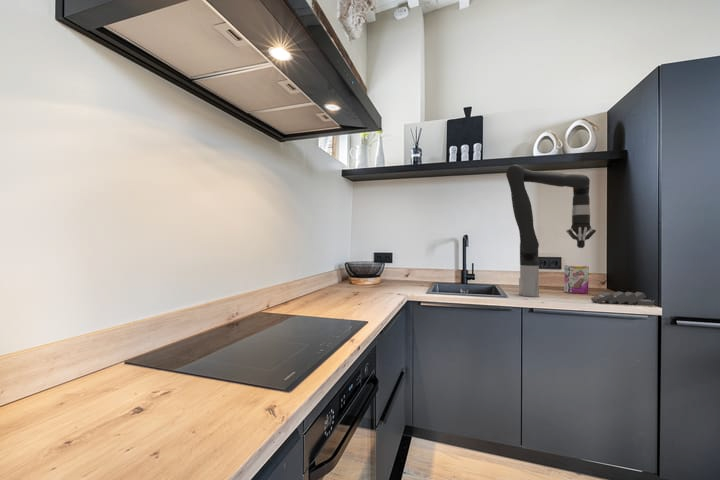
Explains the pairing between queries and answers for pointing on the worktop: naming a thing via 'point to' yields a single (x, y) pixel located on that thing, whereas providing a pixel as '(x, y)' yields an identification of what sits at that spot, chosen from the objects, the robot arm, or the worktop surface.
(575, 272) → the candy bar box
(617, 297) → the domino
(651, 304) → the domino
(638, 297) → the domino
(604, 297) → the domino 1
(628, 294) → the dark grey bumpy bar
